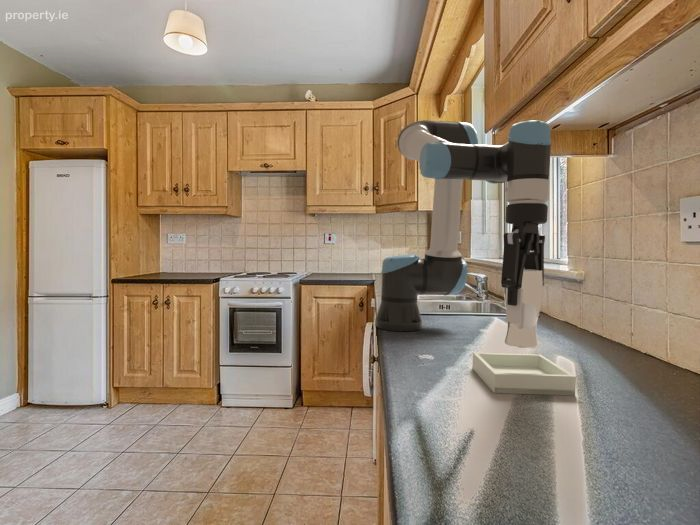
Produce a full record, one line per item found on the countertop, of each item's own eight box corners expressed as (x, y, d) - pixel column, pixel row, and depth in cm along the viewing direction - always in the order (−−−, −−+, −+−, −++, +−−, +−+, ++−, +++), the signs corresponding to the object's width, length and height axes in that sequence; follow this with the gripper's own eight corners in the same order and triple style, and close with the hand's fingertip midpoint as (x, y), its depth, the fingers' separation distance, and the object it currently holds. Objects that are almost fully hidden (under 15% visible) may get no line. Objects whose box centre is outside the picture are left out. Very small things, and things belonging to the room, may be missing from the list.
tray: (472, 368, 89) (472, 352, 89) (539, 370, 89) (540, 354, 88) (494, 393, 74) (494, 374, 74) (575, 395, 74) (576, 376, 74)
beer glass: (536, 342, 83) (540, 269, 83) (543, 350, 77) (546, 271, 76) (500, 339, 85) (503, 268, 85) (503, 347, 79) (507, 269, 78)
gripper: (528, 208, 89) (524, 312, 90) (483, 200, 76) (479, 322, 77) (565, 206, 84) (560, 317, 85) (524, 197, 70) (518, 329, 71)
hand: (521, 319), depth 81 cm, fingers closed on beer glass, 7 cm apart
